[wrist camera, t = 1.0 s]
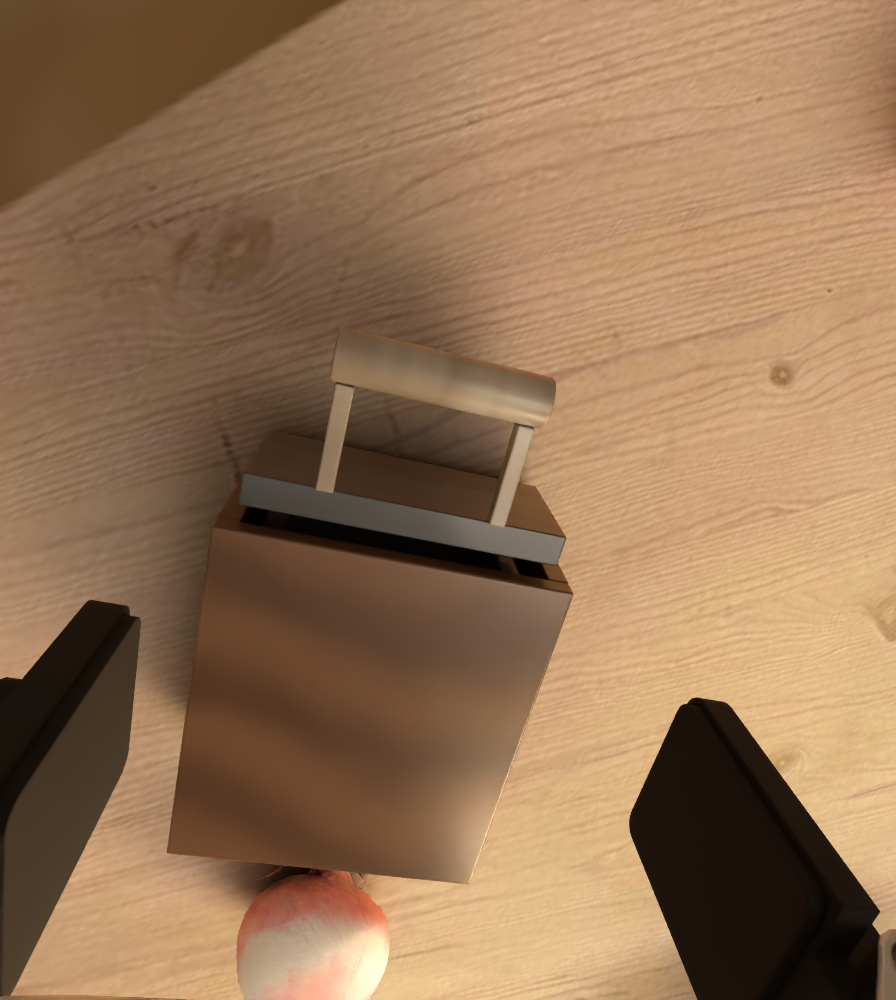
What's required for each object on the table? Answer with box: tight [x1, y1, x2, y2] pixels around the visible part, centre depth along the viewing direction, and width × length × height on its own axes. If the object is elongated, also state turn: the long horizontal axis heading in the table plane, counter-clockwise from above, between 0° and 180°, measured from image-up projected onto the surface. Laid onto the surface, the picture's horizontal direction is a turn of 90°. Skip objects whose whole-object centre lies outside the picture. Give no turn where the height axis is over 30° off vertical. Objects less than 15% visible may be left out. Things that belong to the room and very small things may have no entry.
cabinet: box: [167, 478, 573, 884], centre depth 28 cm, size 15×13×7 cm
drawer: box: [239, 326, 566, 575], centre depth 26 cm, size 19×11×6 cm, turn 166°
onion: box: [236, 865, 390, 1000], centre depth 34 cm, size 8×8×7 cm
